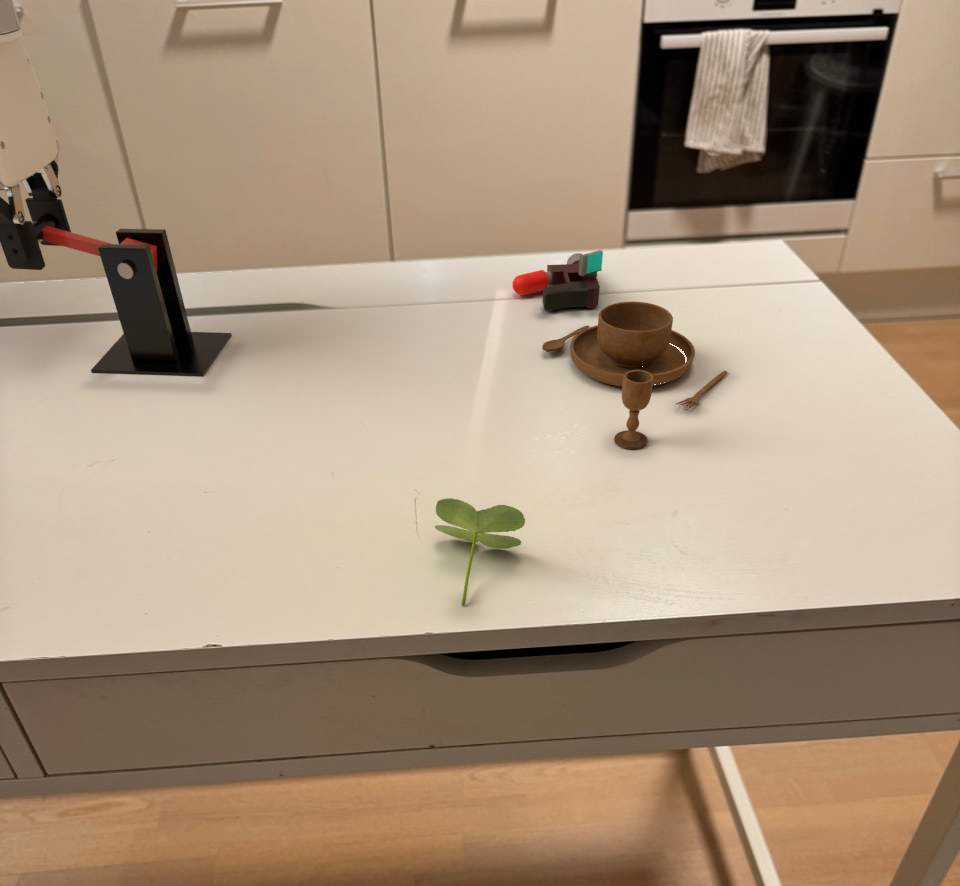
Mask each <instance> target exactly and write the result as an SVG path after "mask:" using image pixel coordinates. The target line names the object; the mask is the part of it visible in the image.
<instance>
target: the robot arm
mask: <svg viewBox="0 0 960 886" xmlns="http://www.w3.org/2000/svg"><path fill="white" fill-rule="evenodd" d="M23 35H24V33H23V30H22V26H21V24H20V19H19V17H18V13H17V10H16V5H15V3H14V0H0V191H6V195H7V200H8V202H7V201H6V200H5V199H4V198H3V197H1V196H0V246H1V248H2V252H3V255H4V257H5V259H6V262H7V265H8V267H9V268H11V269H14V270H30V271H31V270H32V271H42V270H43V269H44V268H45V267H46V262H45V259H44V256H43V253H42V250H41V247H40V245H42V246H52V247H53V246H55V247H62V246H61V245H57V244H53V243H50V242H46V241H41V242H40V243H39V244H38V240H37V237H36V234H35V231H34V228H33V225H32V222H33V221H35V220H36V219H37V218H39V217H40V216H42V215H43V214H45V213H49V214H52V215H53V216H54V217H55V218H56V219H57V221H58V225H59V226H58V229H61V230H64V231H68V232H71V233H72V229H71V227H70V224H69V221H68V217H67V214H66V210H65V207H64V203H63V200H62V199H61V198H62V195H63V190H62V186H61V184H60V182H59V171H60V170H59V165H58V162H59V155H60V144H59V142H58V140H57V138H56V133H55V130H54V127H53V122H52V119H51V115H50V112H49V109H48V105H47V102H46V100H45V96H44V94H43V91H42V88H41V84H40V82H39V79H38V76H37V74H36V70H35V68H34V66H33V63H32V60H31V57H30V55H29V53H28V50H27V48H26V45H25V43H24V40H23V39H22V38H23ZM21 183H22V185H23V187H24V189H25V191H26V193H27V195H28V196H29V197H27V198H25V199H24V200H25V203H26V206H27V209H28V213H29V216H30V219H31V220H26V216H25V209H24V203H23V198H22V193H21V186H20V184H21Z"/></svg>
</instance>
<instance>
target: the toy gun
mask: <svg viewBox="0 0 960 886" xmlns="http://www.w3.org/2000/svg"><path fill="white" fill-rule="evenodd" d="M603 256H604V250H602V249H599V250H595V251H591V252H587V253H581V252H576V253H573V254H571V255H570V256H568V258H567V260H566V264H565V263H564V264H547V266H546V271H545V270H544V269H540V270H535V271H531V272H527V273H522V274H519V275H516V276H515V277H514V279H513V281H512V289H513V291H514V293H516V294H517V295H518V296H524V295H528V294H533V293H536V292H541V291H542V301H541V302H542V306H543V307H542V308H543V310H544V311H546V312H549V311H556V310H561V309H562V310H563V309H569V308H586V309H593V308H596V307H597V306H599V302H600V301H599V300H600V287H601V286H600V283H599V280H598V278H597V277H598V272H601V271H602V270H603V269H602V268H603V258H604V257H603Z"/></svg>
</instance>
